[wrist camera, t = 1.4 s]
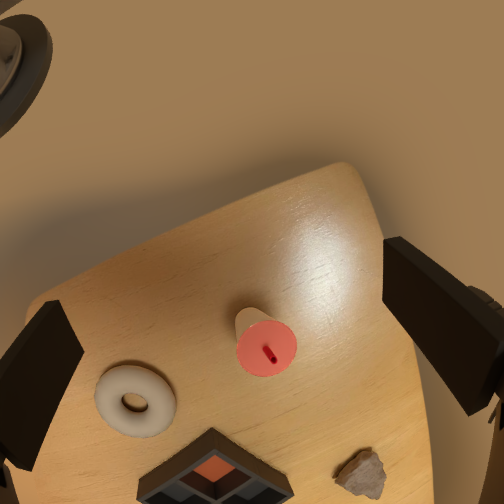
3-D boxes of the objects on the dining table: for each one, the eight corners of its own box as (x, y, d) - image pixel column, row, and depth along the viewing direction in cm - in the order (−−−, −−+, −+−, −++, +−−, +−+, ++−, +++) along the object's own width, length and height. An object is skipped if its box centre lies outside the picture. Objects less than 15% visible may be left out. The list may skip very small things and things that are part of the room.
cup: (228, 296, 35) (245, 330, 23) (275, 300, 36) (313, 331, 24) (224, 342, 35) (239, 392, 23) (270, 344, 36) (303, 391, 24)
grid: (138, 479, 34) (135, 500, 30) (211, 427, 35) (214, 448, 31) (214, 520, 37) (217, 539, 32) (286, 475, 38) (294, 495, 34)
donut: (159, 438, 34) (190, 383, 34) (157, 454, 31) (190, 398, 31) (89, 405, 33) (113, 345, 33) (81, 419, 29) (106, 357, 29)
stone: (387, 464, 42) (404, 482, 36) (351, 491, 41) (365, 511, 35) (366, 441, 40) (383, 462, 34) (325, 472, 39) (339, 495, 34)
